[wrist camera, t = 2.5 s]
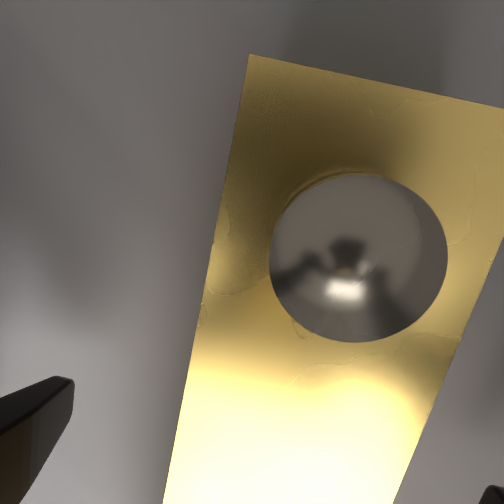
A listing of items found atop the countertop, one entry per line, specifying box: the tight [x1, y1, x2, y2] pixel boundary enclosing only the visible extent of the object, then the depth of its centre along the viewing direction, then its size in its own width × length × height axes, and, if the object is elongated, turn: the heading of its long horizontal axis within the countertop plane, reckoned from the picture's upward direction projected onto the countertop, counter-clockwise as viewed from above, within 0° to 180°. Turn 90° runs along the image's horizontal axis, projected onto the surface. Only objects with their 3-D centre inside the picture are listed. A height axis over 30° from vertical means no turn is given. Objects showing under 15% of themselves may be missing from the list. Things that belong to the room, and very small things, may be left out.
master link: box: [163, 54, 504, 504], centre depth 8 cm, size 4×14×5 cm, turn 167°
